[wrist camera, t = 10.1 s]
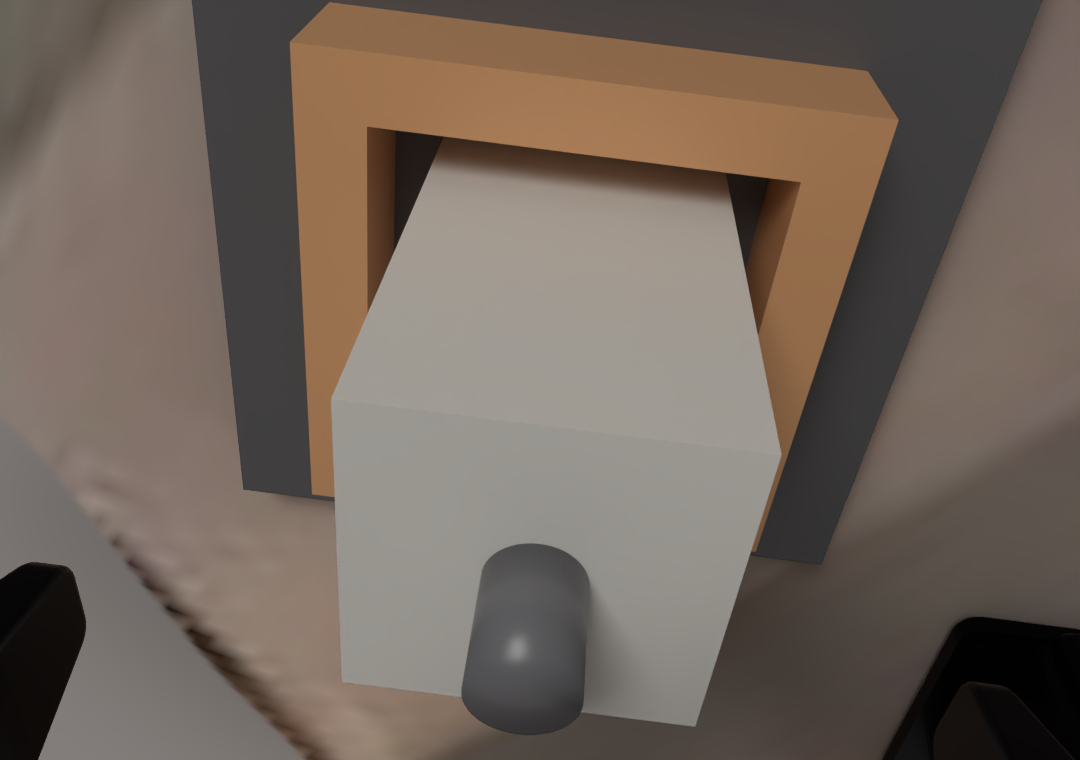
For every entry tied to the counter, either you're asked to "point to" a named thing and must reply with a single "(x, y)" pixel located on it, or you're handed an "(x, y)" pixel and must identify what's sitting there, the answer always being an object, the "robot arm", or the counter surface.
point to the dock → (615, 132)
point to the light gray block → (552, 441)
